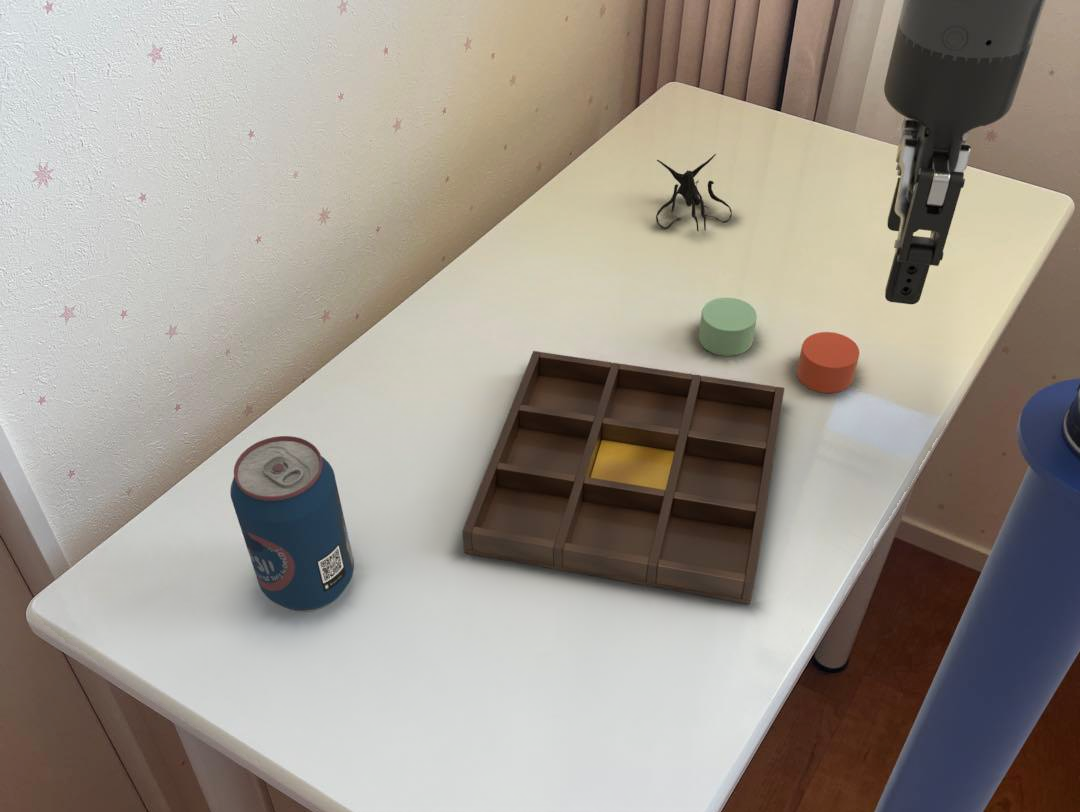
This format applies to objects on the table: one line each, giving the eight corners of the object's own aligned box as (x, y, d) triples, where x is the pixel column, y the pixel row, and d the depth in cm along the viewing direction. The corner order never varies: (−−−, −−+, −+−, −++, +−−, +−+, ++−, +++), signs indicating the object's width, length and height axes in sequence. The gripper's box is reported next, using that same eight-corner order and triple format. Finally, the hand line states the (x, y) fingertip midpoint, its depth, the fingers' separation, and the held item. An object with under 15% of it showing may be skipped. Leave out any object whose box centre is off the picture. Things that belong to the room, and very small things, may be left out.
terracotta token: (854, 361, 97) (861, 335, 95) (851, 396, 94) (858, 371, 92) (799, 353, 98) (804, 328, 95) (794, 388, 95) (799, 363, 92)
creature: (736, 239, 111) (717, 183, 115) (746, 199, 107) (726, 141, 110) (661, 247, 110) (643, 191, 114) (667, 207, 106) (649, 149, 110)
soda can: (241, 586, 81) (201, 470, 72) (312, 532, 84) (282, 415, 75) (305, 635, 78) (272, 520, 69) (376, 576, 81) (353, 460, 72)
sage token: (755, 326, 100) (759, 301, 98) (749, 359, 97) (753, 334, 95) (702, 319, 101) (705, 294, 99) (695, 351, 98) (698, 326, 96)
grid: (780, 409, 93) (784, 387, 91) (750, 604, 79) (754, 583, 77) (533, 372, 96) (533, 350, 95) (464, 552, 83) (461, 531, 81)
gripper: (1044, 87, 58) (960, 334, 70) (1027, -23, 67) (956, 212, 79) (898, 74, 59) (840, 319, 71) (901, -32, 68) (849, 201, 81)
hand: (901, 263), depth 75 cm, fingers open, 8 cm apart
